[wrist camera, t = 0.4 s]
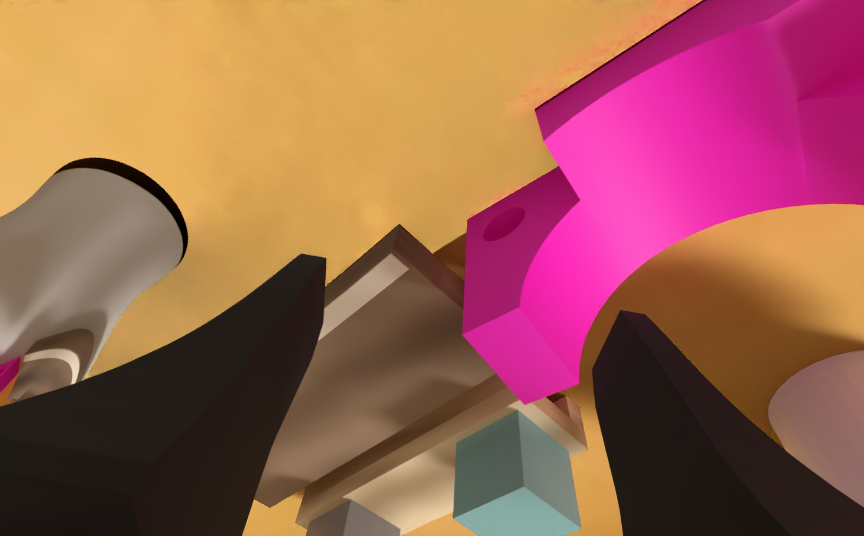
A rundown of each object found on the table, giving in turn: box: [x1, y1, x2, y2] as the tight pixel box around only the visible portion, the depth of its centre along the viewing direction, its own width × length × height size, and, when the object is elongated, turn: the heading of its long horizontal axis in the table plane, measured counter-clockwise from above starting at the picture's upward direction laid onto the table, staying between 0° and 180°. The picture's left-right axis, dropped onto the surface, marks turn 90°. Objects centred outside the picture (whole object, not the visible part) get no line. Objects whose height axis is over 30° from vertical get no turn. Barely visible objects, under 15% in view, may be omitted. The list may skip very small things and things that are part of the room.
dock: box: [254, 224, 496, 508], centre depth 27 cm, size 8×20×2 cm, turn 135°
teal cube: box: [453, 410, 581, 536], centre depth 24 cm, size 4×4×4 cm
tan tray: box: [295, 374, 588, 536], centre depth 30 cm, size 5×18×3 cm, turn 134°
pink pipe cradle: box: [462, 0, 864, 405], centre depth 16 cm, size 15×6×8 cm, turn 126°
